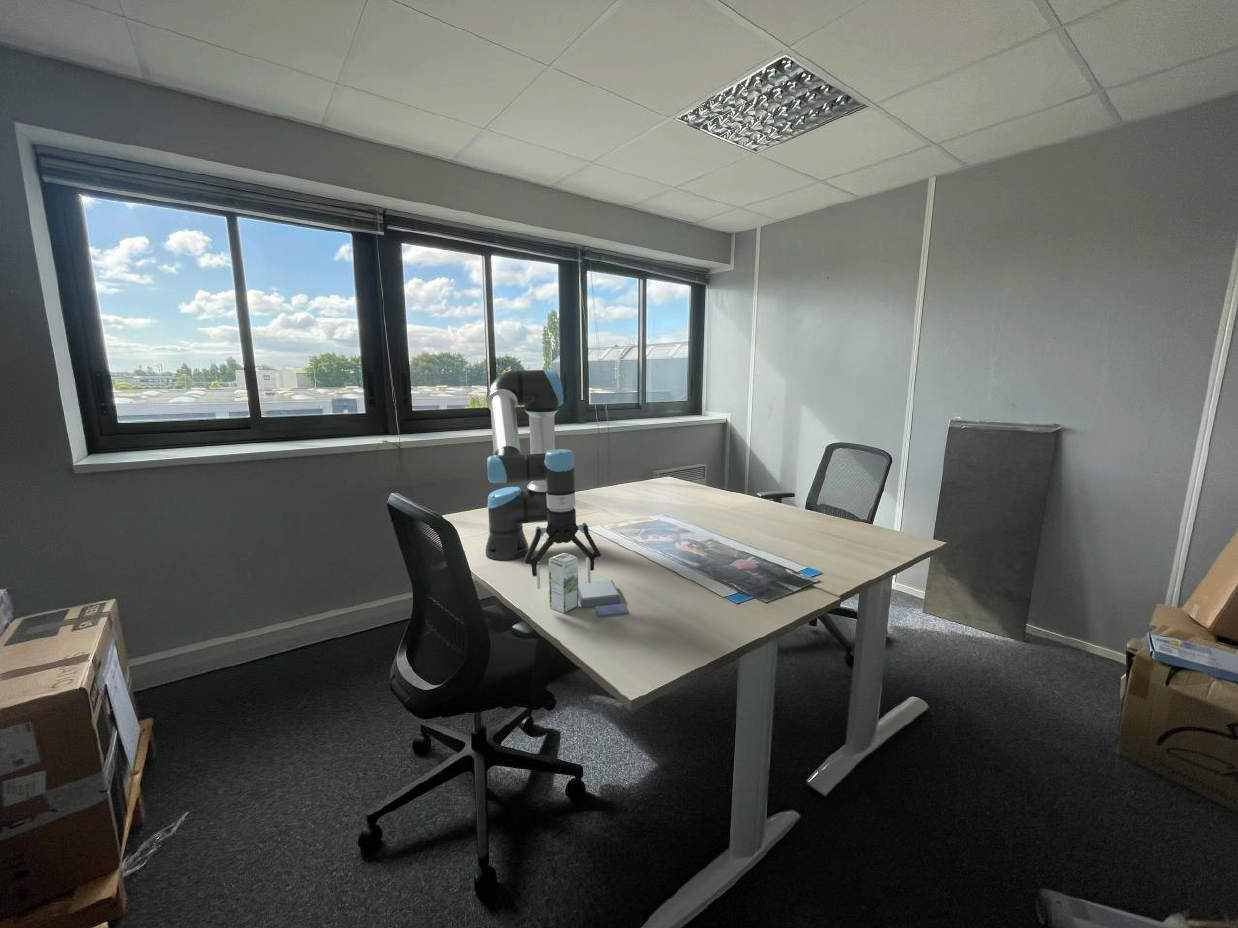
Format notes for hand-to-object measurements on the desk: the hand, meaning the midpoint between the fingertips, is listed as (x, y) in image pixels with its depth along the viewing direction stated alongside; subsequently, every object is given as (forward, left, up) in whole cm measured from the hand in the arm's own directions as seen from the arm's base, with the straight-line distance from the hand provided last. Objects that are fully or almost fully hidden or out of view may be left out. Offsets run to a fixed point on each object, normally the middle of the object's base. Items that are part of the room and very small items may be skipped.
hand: (563, 584), depth 131 cm
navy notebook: (+5, +12, -7) cm, 15 cm away
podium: (-4, +10, -7) cm, 13 cm away
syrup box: (0, 0, -7) cm, 7 cm away
